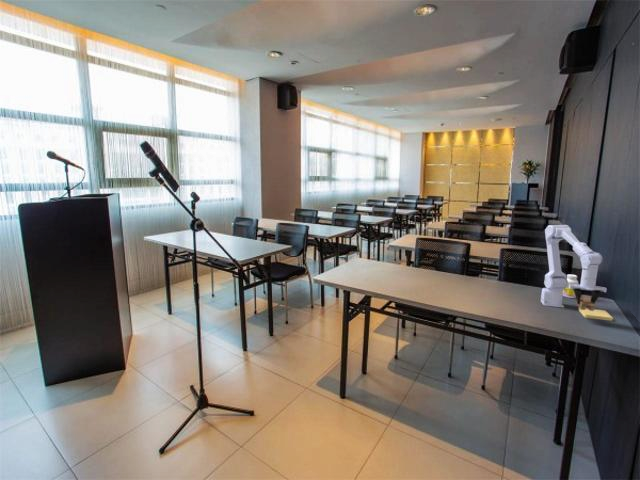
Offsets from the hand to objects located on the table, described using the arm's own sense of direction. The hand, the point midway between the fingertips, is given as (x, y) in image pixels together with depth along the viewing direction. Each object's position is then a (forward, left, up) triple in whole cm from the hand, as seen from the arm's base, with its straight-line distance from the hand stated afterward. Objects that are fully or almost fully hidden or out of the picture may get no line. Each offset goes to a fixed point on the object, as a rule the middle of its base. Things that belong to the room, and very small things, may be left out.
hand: (585, 304), depth 166 cm
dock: (+7, +7, -8) cm, 13 cm away
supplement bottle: (+4, +36, -8) cm, 37 cm away
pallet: (0, 0, -2) cm, 2 cm away
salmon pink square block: (0, 0, +2) cm, 2 cm away
